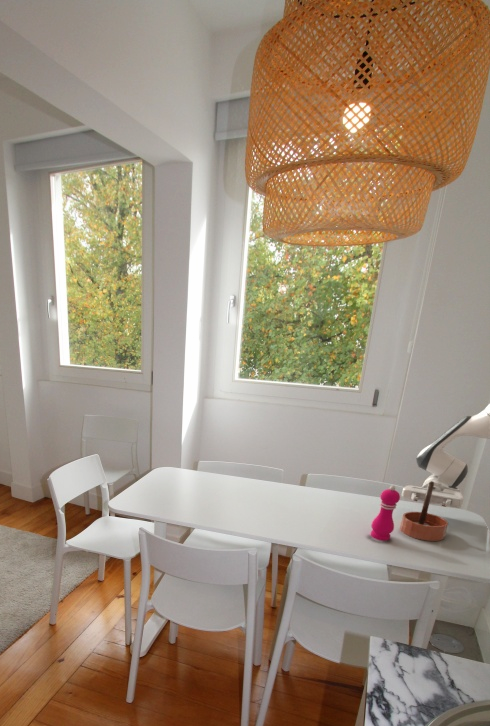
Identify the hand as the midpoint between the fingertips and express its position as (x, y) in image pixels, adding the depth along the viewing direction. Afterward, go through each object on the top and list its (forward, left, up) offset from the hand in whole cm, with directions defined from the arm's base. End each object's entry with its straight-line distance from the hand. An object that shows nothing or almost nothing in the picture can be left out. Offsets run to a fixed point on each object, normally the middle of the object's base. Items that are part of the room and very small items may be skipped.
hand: (429, 501), depth 174 cm
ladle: (+1, +5, -10) cm, 11 cm away
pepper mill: (+12, +20, -11) cm, 25 cm away
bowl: (0, +7, -11) cm, 13 cm away
